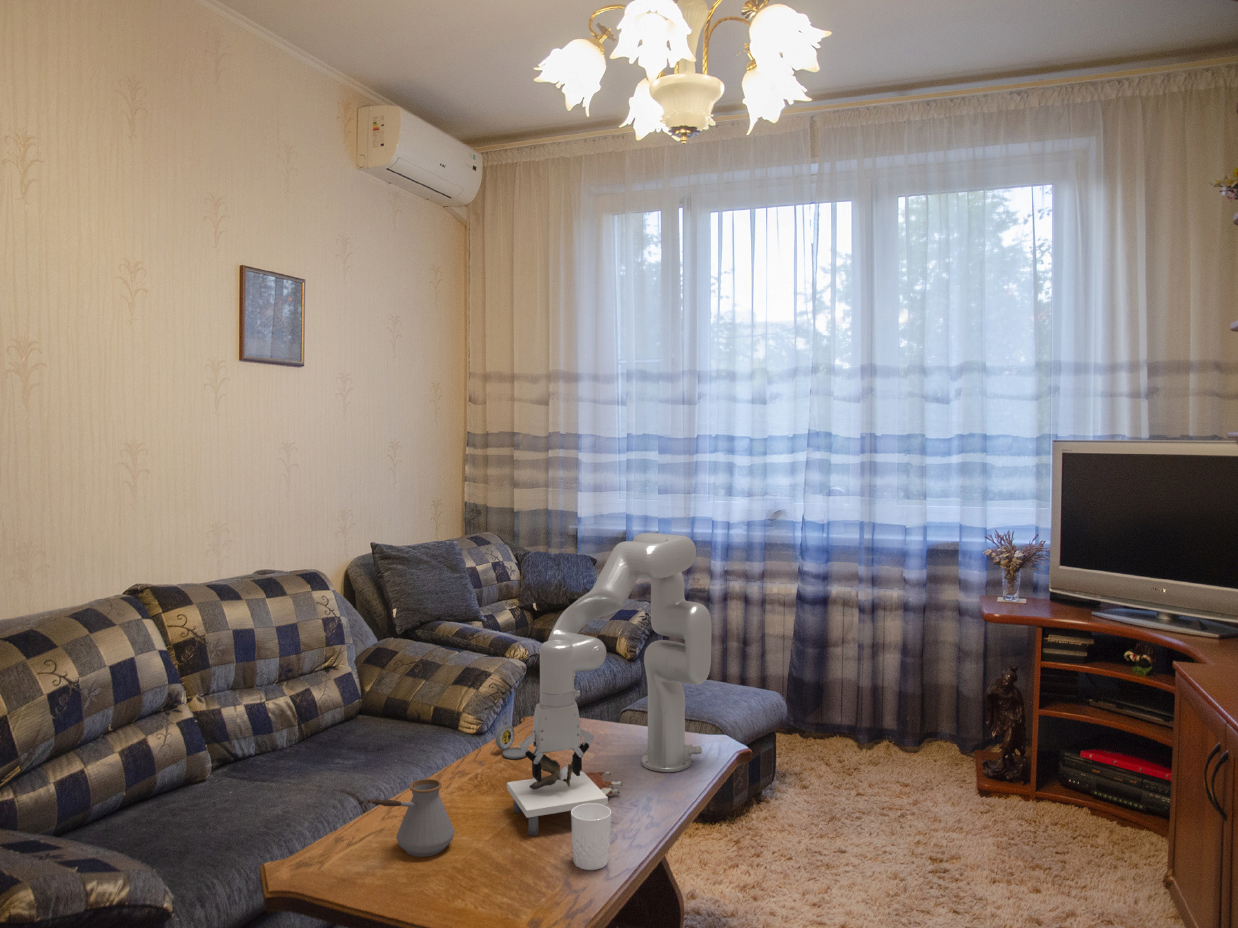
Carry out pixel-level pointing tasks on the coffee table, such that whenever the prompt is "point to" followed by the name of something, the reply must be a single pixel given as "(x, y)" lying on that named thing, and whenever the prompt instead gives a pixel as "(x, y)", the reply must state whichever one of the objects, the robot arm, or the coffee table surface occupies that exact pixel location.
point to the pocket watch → (508, 741)
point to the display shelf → (553, 797)
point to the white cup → (591, 835)
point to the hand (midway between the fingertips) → (557, 776)
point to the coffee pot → (422, 819)
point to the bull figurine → (603, 782)
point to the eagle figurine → (553, 773)
